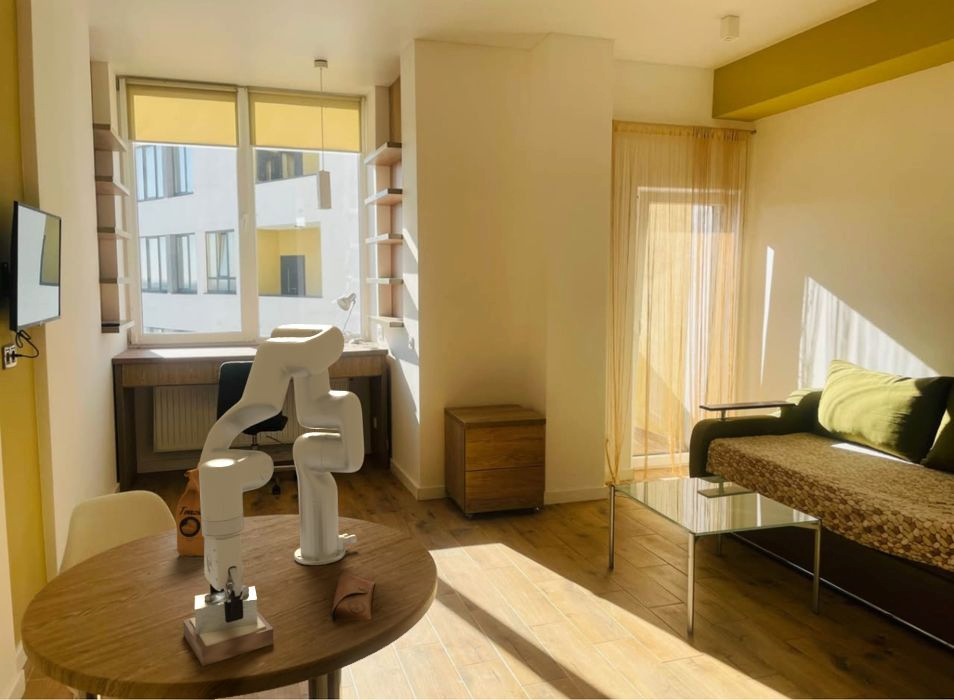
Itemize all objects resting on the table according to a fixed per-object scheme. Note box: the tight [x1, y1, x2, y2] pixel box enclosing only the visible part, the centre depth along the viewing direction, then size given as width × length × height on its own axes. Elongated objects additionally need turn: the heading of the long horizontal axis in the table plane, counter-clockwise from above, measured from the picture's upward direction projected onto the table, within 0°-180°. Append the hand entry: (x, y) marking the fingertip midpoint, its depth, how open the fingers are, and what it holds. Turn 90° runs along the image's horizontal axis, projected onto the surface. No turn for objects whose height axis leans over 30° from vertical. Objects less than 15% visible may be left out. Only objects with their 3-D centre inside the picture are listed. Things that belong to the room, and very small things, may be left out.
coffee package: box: [175, 461, 205, 557], centre depth 179 cm, size 10×12×22 cm
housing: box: [194, 584, 258, 635], centre depth 133 cm, size 6×11×6 cm, turn 111°
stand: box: [182, 610, 275, 667], centre depth 133 cm, size 13×14×3 cm
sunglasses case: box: [331, 571, 376, 623], centre depth 149 cm, size 18×7×7 cm
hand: (226, 610), depth 133 cm, fingers open, 9 cm apart
